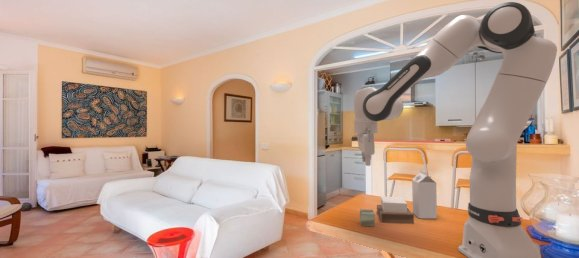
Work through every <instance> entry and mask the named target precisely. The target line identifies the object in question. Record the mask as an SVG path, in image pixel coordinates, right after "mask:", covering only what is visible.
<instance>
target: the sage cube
mask: <svg viewBox="0 0 579 258" xmlns="http://www.w3.org/2000/svg"><path fill="white" fill-rule="evenodd" d="M375 214H376V213H375V212H374V210H373V209H366V208H365V209H363V208H362V209H359V222H360V225H361V226H362V227H375V226H376V221H375V218H376V217H375Z"/></svg>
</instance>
